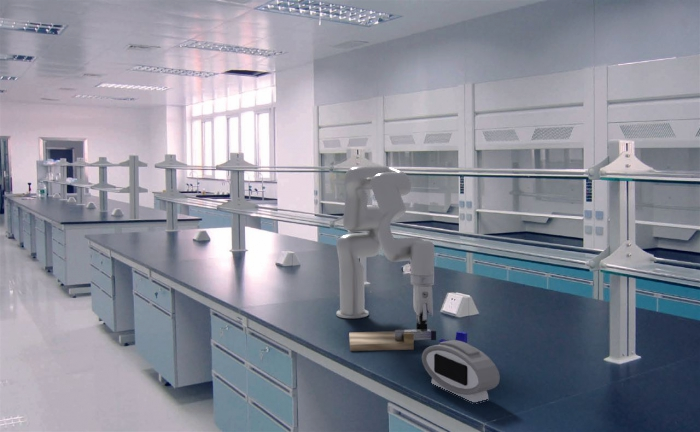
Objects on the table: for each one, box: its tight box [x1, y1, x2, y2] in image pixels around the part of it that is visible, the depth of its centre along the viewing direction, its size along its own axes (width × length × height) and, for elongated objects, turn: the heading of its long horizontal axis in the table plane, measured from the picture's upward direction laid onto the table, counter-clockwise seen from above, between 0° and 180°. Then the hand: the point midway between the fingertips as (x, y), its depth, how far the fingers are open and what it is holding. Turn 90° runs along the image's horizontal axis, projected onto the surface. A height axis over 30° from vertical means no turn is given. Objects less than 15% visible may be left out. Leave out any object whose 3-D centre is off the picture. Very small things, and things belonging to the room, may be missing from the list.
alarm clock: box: [421, 339, 501, 402], centre depth 157 cm, size 23×6×13 cm, turn 31°
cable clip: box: [438, 330, 468, 345], centre depth 188 cm, size 12×4×6 cm, turn 142°
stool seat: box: [348, 331, 415, 352], centre depth 201 cm, size 14×20×5 cm
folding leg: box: [394, 328, 437, 341], centre depth 197 cm, size 13×3×3 cm, turn 91°
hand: (421, 334), depth 200 cm, fingers closed
